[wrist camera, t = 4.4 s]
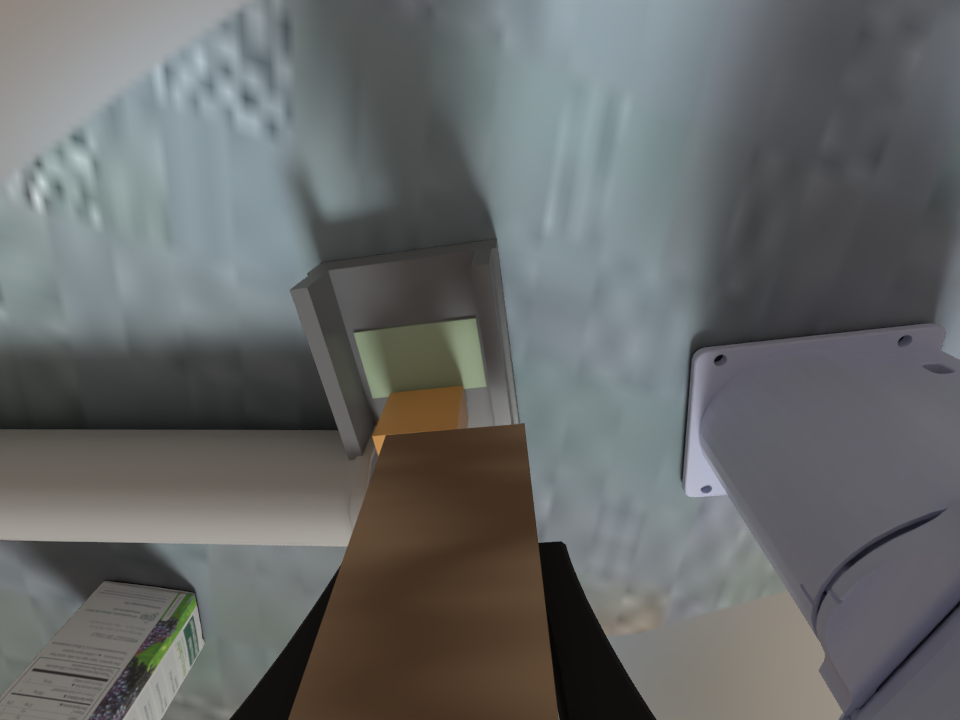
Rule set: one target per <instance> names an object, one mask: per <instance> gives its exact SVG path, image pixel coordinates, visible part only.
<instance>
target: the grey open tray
mask: <svg viewBox="0 0 960 720" xmlns="http://www.w3.org/2000/svg"><path fill="white" fill-rule="evenodd" d="M307 274H308V277H306V278H305V279H304V280H302V281H301V282H300V283H298V284H297V285H296V286H294V287H293V288H292V289H290V292H291V295H292V298H293V301H294V303H295V306H296V309H297V312H298V315H299V318H300V321H301V324H302V326H303V329H304V332H305V335H306V338H307V341H308V344H309V347H310V350H311V352H312V355H313V358H314V361H315V364H316V367H317V370H318V373H319V375H320V378H321V381H322V384H323V387H324V390H325V393H326V396H327V399H328V401H329V404H330V407H331V410H332V413H333V416H334V419H335V422H336V424H337V427H338V430H339V433H340V436H341V439H342V442H343V445H344V448H345V450H346V453H347V456H348V459H349V460H355V458H356V457H357V456H363V453H364V451H365V448H366V446H367V443H368V441H369V438H370V436H371V433H372V431H373V428H374V426H375V425H377V423H378V421H379V419H380V416H381V414H382V411H383V409H384V407H385V404H386V402H387V399H388V397H389V395H390V393H395V392H405V391H414V390H424V389H433V388H443V387H452V386H462V385H463V388H464V394H465V399H466V405H467V410H468V415H469V418H468V428H476V427H488V426H500V425H512V424H520V421H519V413H518V405H517V397H516V389H515V381H514V373H513V365H512V357H511V349H510V341H509V333H508V325H507V317H506V309H505V301H504V293H503V285H502V277H501V269H500V261H499V253H498V245H497V239H492V240H484V241H477V242H470V243H462V244H455V245H448V246H440V247H433V248H426V249H418V250H411V251H404V252H396V253H389V254H382V255H374V256H367V257H360V258H352V259H345V260H338V261H330V262H323V263H321V264H319V265H318V266H317V267H315V268H314V269H313V270H311V271H310V272H309V273H307ZM377 459H378V454H377V450H375V453H374V455H373V458H372V461H371V470H370V478H369V483H370V480H371V477H372V474H373V471H374V468H375V465H376V462H377Z"/></svg>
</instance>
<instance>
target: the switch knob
mask: <svg viewBox="0 0 960 720" xmlns="http://www.w3.org/2000/svg"><path fill="white" fill-rule="evenodd" d="M468 418H469V415H468V410H467V405H466V399H465V394H464V388H463V385H462V386H452V387H443V388H433V389H424V390H414V391H405V392H395V393H390V395H389V397H388V399H387V402H386V404H385V407H384V409H383V411H382V414H381V416H380V419H379V421H378V423H377V426H376V428H375V431H374V433H373V435H372V437H373V441H374V444H375V447H376V450H377V454H378V456H379V453H380V450H381V448H382V445H383V442H384V439H385V436H386V435H393V434H405V433H417V432H429V431H440V430H452V429H464V428H468Z"/></svg>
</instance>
